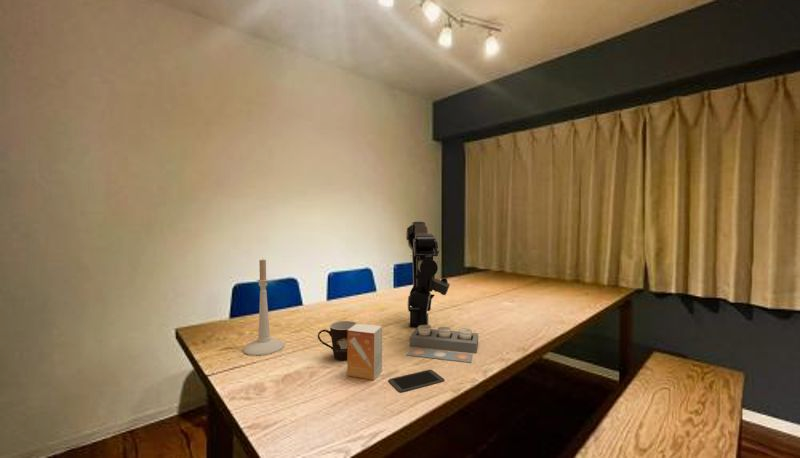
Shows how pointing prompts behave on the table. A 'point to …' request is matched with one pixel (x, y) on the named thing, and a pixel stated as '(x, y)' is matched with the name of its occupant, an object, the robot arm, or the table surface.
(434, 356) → the pattern card
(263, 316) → the candlestick
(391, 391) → the table surface
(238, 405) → the table surface
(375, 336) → the small box
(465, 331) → the right button
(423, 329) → the left button
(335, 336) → the coffee mug
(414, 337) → the button panel
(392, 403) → the table surface
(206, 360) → the table surface
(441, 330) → the middle button
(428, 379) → the cell phone
